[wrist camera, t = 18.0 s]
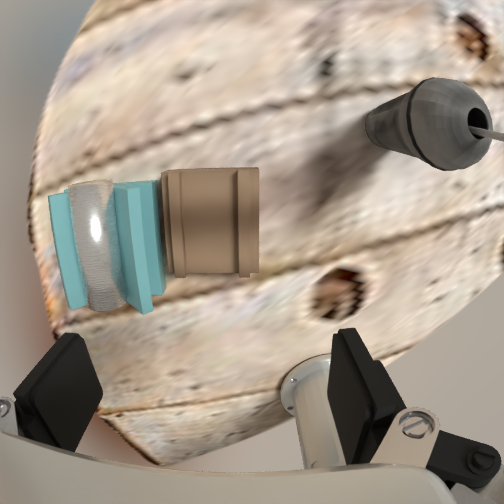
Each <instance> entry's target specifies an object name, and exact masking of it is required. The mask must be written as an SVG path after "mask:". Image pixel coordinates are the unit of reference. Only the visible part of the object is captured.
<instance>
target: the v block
mask: <svg viewBox="0 0 504 504" xmlns="http://www.w3.org/2000/svg"><path fill="white" fill-rule="evenodd" d="M113 190H114V202H115V212H116V222H117V231H118V239H119V247H120V254H121V261H122V268H123V274H124V280H125V286H126V292H127V297H128V299H127V302H128V303H130V304H131V305H132V306H133V307H134V308H136V309H137V310H138V311H139V312H140V313H142V314H143V315H144V314H146V313H149V312H151V311H153V305H152V298H151V295H163V293H164V291H165V289H166V280H165V272H164V262H163V253H162V242H161V231H160V218H159V204H158V187H157V180H154V181H139V182H125V183H113ZM48 202H49V210H50V217H51V224H52V231H53V237H54V243H55V249H56V254H57V259H58V264H59V269H60V273H61V278H62V282H63V287H64V291H65V295H66V299H67V303H68V306H69V308H70V309H71V310H74V309H77V308H80V307H83V306H86V305H88V304H87V300H86V296H85V292H84V287H83V283H82V278H81V273H80V268H79V263H78V257H77V251H76V246H75V239H74V233H73V226H72V218H71V210H70V202H69V192H68V189H66V190H64V193H59V194H54V195H50V196H48Z"/></svg>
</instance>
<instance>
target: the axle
mask: <svg viewBox="0 0 504 504" xmlns="http://www.w3.org/2000/svg"><path fill="white" fill-rule="evenodd" d="M68 192H69V202H70V210H71V218H72V226H73V233H74V239H75V246H76V251H77V257H78V263H79V268H80V273H81V278H82V283H83V287H84V292H85V296H86V300H87V304H88V307H89V308H90V309H91V310H94V311H110V310H114V309H117V308H119V307H121V306H123V305H124V304H125V303H126V302H127V299H128V297H127V292H126V286H125V280H124V274H123V268H122V261H121V254H120V247H119V239H118V231H117V222H116V212H115V202H114V190H113V180H112V179H106V180H95V181H88V182H82V183H77V184H73V185H70V186H68Z"/></svg>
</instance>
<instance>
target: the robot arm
mask: <svg viewBox="0 0 504 504" xmlns="http://www.w3.org/2000/svg"><path fill="white" fill-rule="evenodd" d="M13 395H14V396H15V398H16V401H15V402H13V400H12V399H11V398H9V397H0V504H504V465H502V464H501V457H500V454H499V453H498V451H497V450H496V449H495V448H493V447H492V446H489V445H487V444H484V443H480V442H477V441H473V440H470V439H466V438H463V437H460V436H456V435H453V434H450V433H447V432H444V431H441V430H439V428H440V423H439V420H438V418H437V417H436V415H435V414H434V413H432V412H431V411H429V410H427V409H424V408H419V407H412V408H406V406H405V404H404V402H403V400H402V398H401V397H400V395H399V393H398V391H397V389H396V387H395V386H394V384H393V382H392V380H391V378H390V377H389V375H388V373H387V371H386V370H385V368H384V366H383V364H382V363H381V362H380V361H379V360H376V361H373V359H372V357H371V355H370V354H369V352H368V350H367V348H366V346H365V344H364V343H363V341H362V339H361V337H360V336H359V334H358V332H357V330H356V329H355V328H346V329H339V331H338V333H337V334H333V340H332V350H331V354H326V355H321V356H317V357H314V358H311V359H309V360H307V361H305V362H303V363H301V364H300V365H298V366H297V367H295V368H294V369H293V370H292V371H291V372H290V373H289V374H288V375H287V376H286V378H285V379H284V381H283V383H282V385H281V390H280V397H281V402H282V405H283V407H284V409H285V410H286V411H287V412H288V413H290V414H291V415H293V416H295V418H296V424H297V429H298V435H299V441H300V447H301V453H302V459H303V465H304V470H292V471H277V472H249V473H226V472H223V473H222V472H199V471H183V470H173V469H163V468H154V467H147V466H140V465H133V464H127V463H121V462H116V461H111V460H106V459H101V458H96V457H92V456H87V455H83V454H79V453H75V450H76V448H77V446H78V444H79V442H80V440H81V438H82V436H83V434H84V432H85V430H86V428H87V426H88V424H89V422H90V420H91V418H92V416H93V414H94V412H95V411H96V409H97V407H98V405H99V403H100V401H101V399H102V397H103V390H102V387H101V385H100V382H99V380H98V377H97V375H96V372H95V369H94V367H93V364H92V361H91V359H90V356H89V353H88V350H87V347H86V344H85V341H84V339H83V338H82V337H81V336H80V335H79V334H77V333H64V334H63V335H62V336H61V337H60V338H59V339H58V341H57V342H56V343H55V344H54V345H53V346H52V347H51V349H50V350H49V351H48V352H47V353H46V354H45V355H44V357H43V358H42V359H41V360H40V361H39V362H38V364H37V365H36V366H35V367H34V369H33V370H32V371H31V372H30V373H29V374H28V375H27V377H26V378H25V379H24V380H23V382H22V383H21V384H20V385H19V386H18V388H17V389H16V390H15V391H14V393H13Z"/></svg>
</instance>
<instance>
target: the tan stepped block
mask: <svg viewBox="0 0 504 504" xmlns="http://www.w3.org/2000/svg"><path fill="white" fill-rule="evenodd" d="M161 177H162V196H163V212H164V226H165V238H166V249H167V260H168V270H169V273H175V278H185V277H186V275H187V273H239V277H250V273H259V169H258V167H251V168H202V169H178V170H167V171H164V172H162V173H161Z"/></svg>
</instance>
